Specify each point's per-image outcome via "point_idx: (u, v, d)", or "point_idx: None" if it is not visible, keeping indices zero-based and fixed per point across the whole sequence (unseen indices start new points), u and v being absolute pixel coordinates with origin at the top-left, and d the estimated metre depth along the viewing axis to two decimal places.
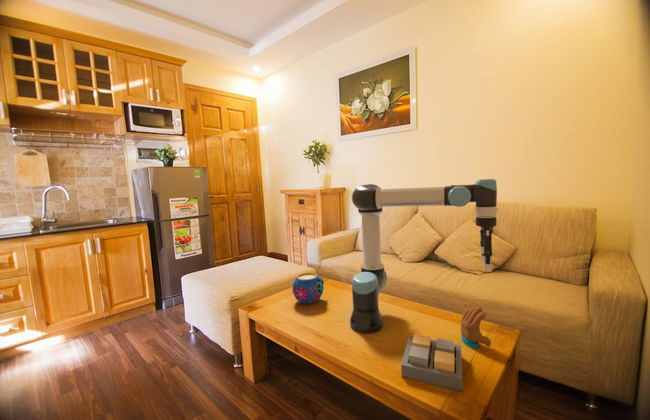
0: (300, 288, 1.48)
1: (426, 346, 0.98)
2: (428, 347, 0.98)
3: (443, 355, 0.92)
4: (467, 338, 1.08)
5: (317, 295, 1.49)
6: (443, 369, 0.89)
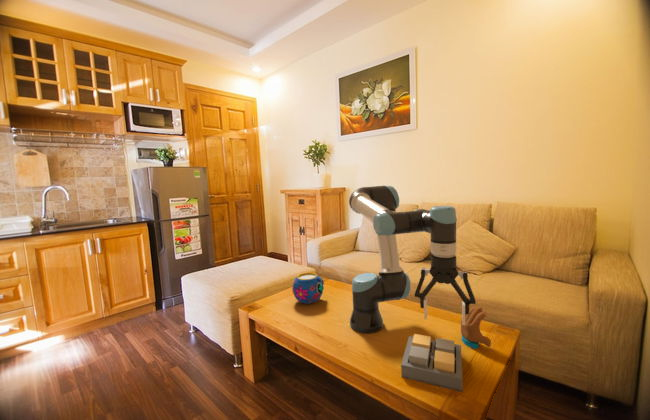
0: (300, 288, 1.48)
1: (426, 346, 0.98)
2: (428, 347, 0.98)
3: (443, 355, 0.92)
4: (467, 338, 1.08)
5: (317, 295, 1.49)
6: (443, 369, 0.89)
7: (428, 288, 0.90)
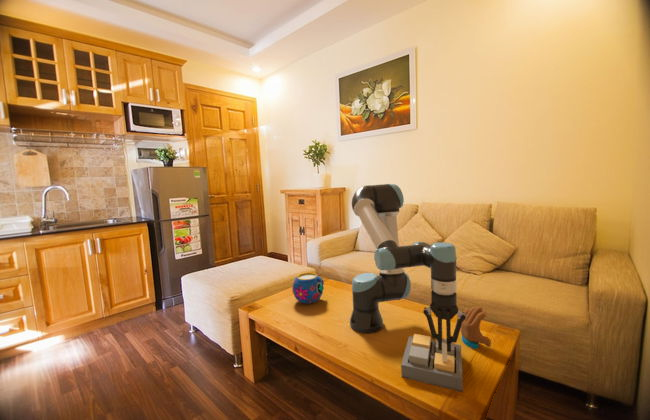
0: (300, 288, 1.48)
1: (426, 346, 0.98)
2: (428, 347, 0.98)
3: None
4: (467, 338, 1.08)
5: (317, 295, 1.49)
6: None
7: (439, 328, 0.90)
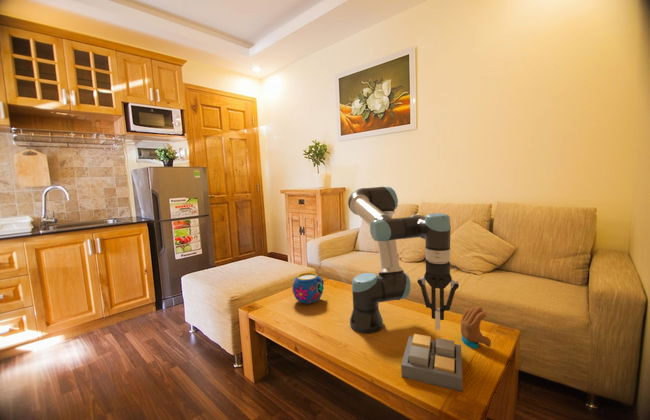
0: (300, 288, 1.48)
1: (426, 346, 0.98)
2: (428, 347, 0.98)
3: (443, 361, 0.92)
4: (467, 338, 1.08)
5: (317, 295, 1.49)
6: None
7: (432, 297, 0.91)
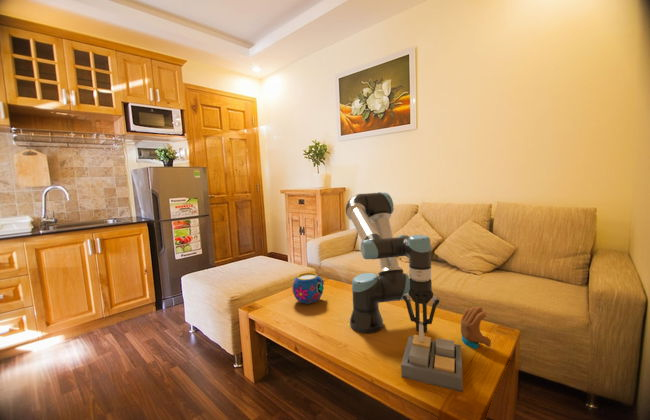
0: (300, 288, 1.48)
1: (426, 347, 0.99)
2: (428, 348, 0.98)
3: (443, 361, 0.92)
4: (467, 338, 1.08)
5: (317, 295, 1.49)
6: None
7: (416, 311, 1.00)
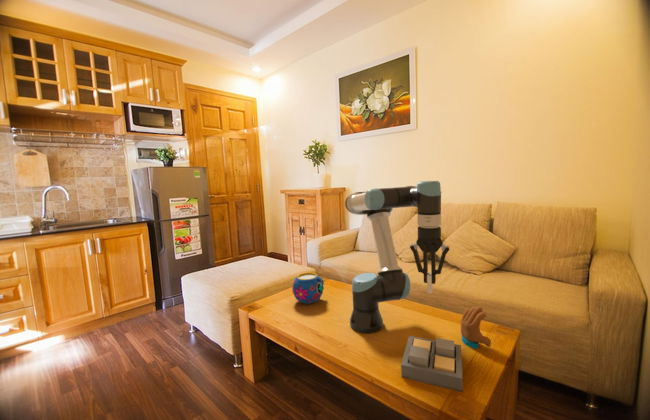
0: (300, 288, 1.48)
1: None
2: None
3: (443, 361, 0.92)
4: (467, 338, 1.08)
5: (317, 295, 1.49)
6: None
7: (424, 261, 0.95)
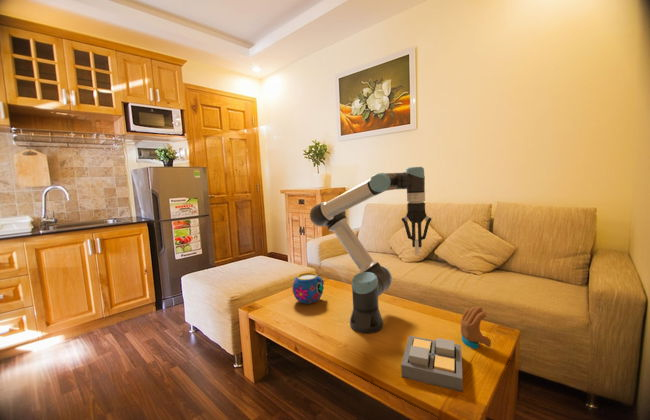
0: (300, 288, 1.48)
1: None
2: None
3: (443, 361, 0.92)
4: (467, 338, 1.08)
5: (317, 295, 1.49)
6: None
7: (413, 230, 1.22)
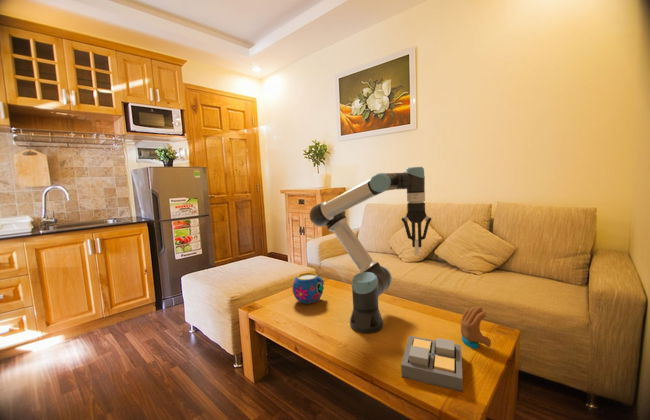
0: (300, 288, 1.48)
1: None
2: None
3: (443, 361, 0.92)
4: (467, 338, 1.08)
5: (317, 295, 1.49)
6: None
7: (412, 230, 1.22)
